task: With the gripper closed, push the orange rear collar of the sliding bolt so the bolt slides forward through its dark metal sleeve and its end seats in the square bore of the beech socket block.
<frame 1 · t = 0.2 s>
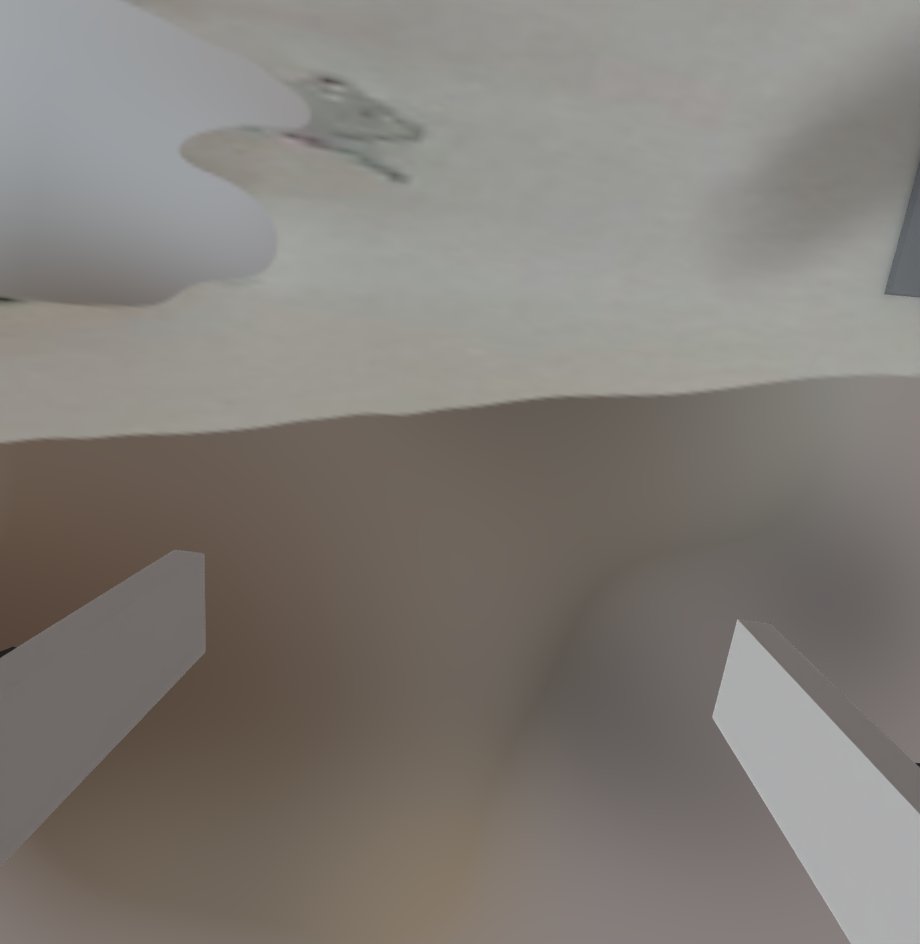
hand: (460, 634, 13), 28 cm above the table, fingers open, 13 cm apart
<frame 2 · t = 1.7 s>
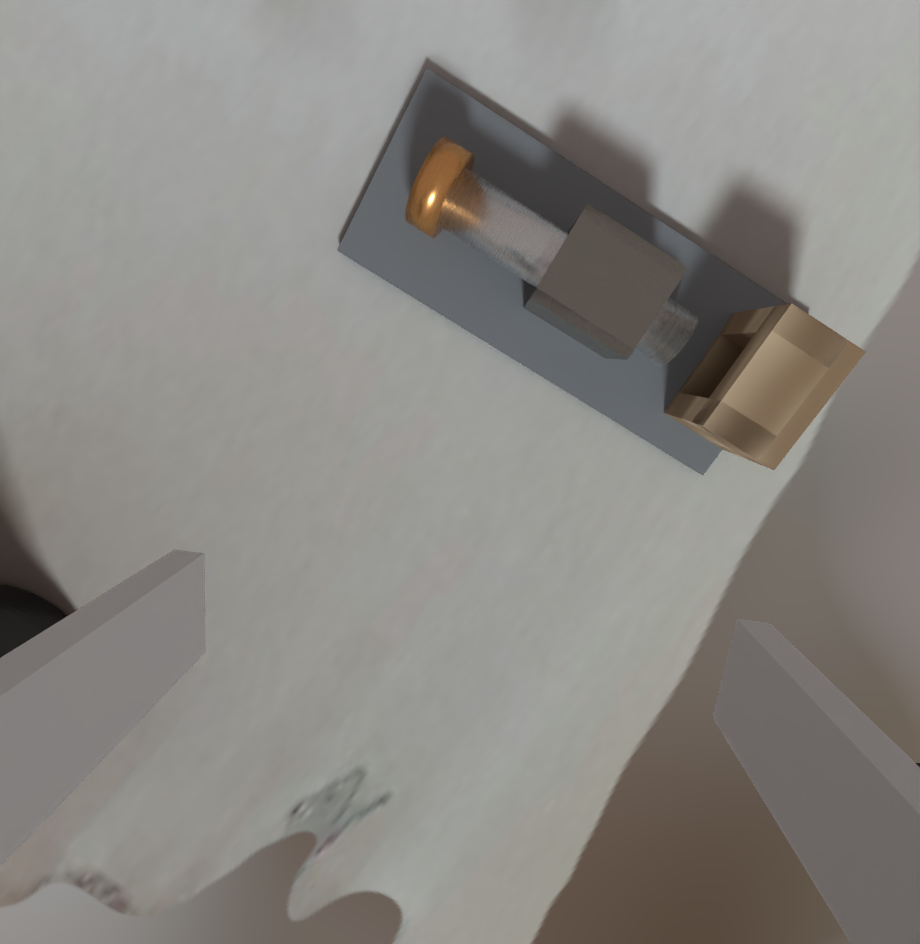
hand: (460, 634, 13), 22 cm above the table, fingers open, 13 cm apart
socket block: (723, 382, 32), resting on base mat
base mat: (573, 287, 31), on the table
sliding bolt: (554, 262, 28), point 3 cm above the table, slide at 0.0 cm
sleeve: (586, 296, 31), resting on base mat
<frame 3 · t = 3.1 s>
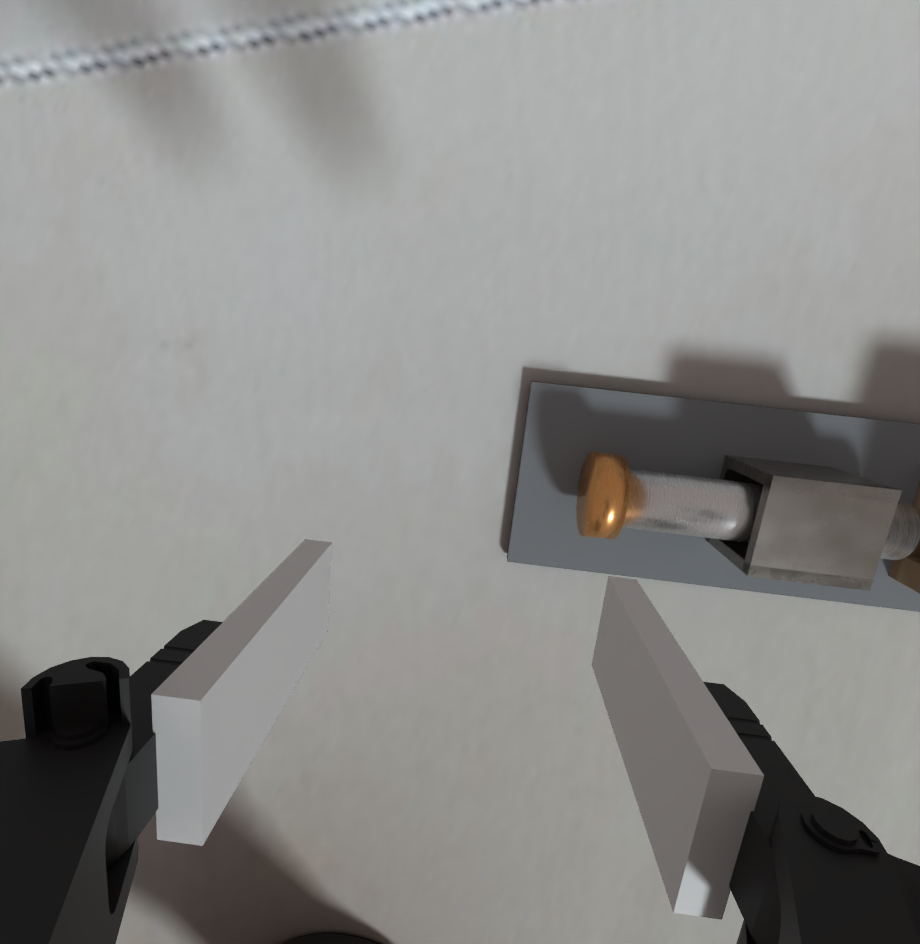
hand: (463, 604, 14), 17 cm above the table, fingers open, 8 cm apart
base mat: (744, 499, 30), on the table
sliding bolt: (738, 511, 27), point 3 cm above the table, slide at 0.0 cm
sleeve: (761, 501, 30), resting on base mat
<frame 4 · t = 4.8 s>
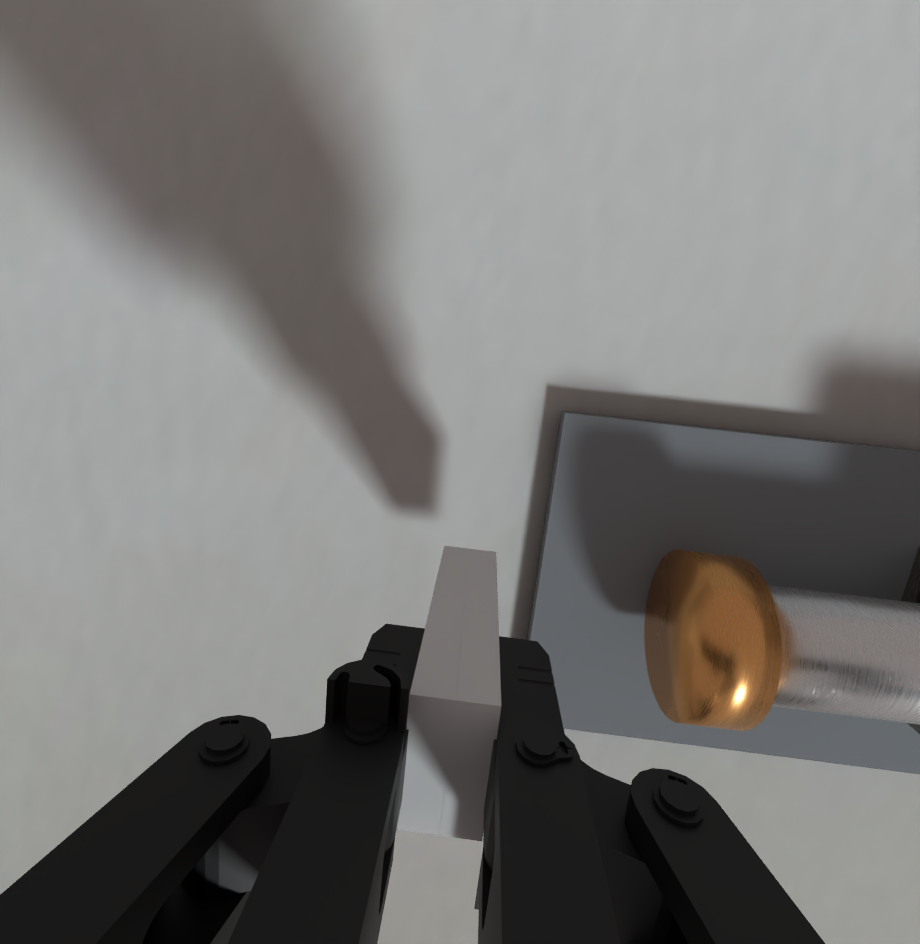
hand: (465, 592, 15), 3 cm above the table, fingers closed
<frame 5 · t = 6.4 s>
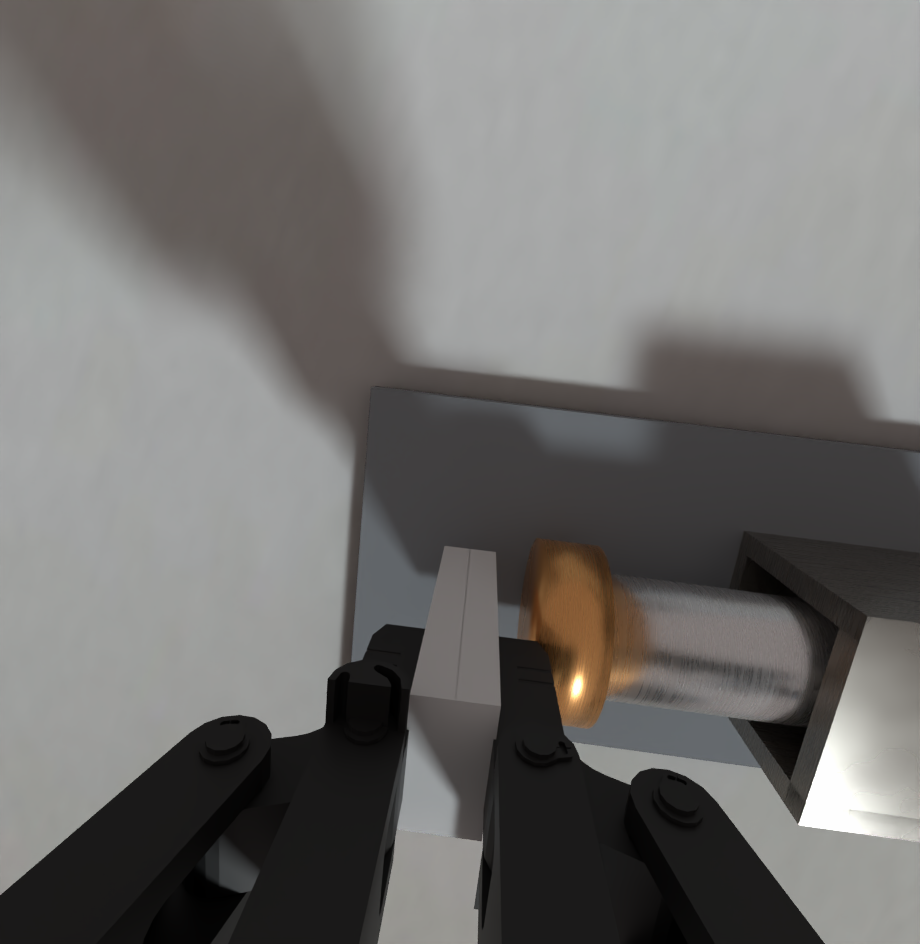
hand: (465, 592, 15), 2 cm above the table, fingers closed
base mat: (778, 608, 16), on the table
sliding bolt: (840, 665, 13), point 3 cm above the table, slide at 1.7 cm, touching gripper
sleeve: (809, 612, 16), resting on base mat
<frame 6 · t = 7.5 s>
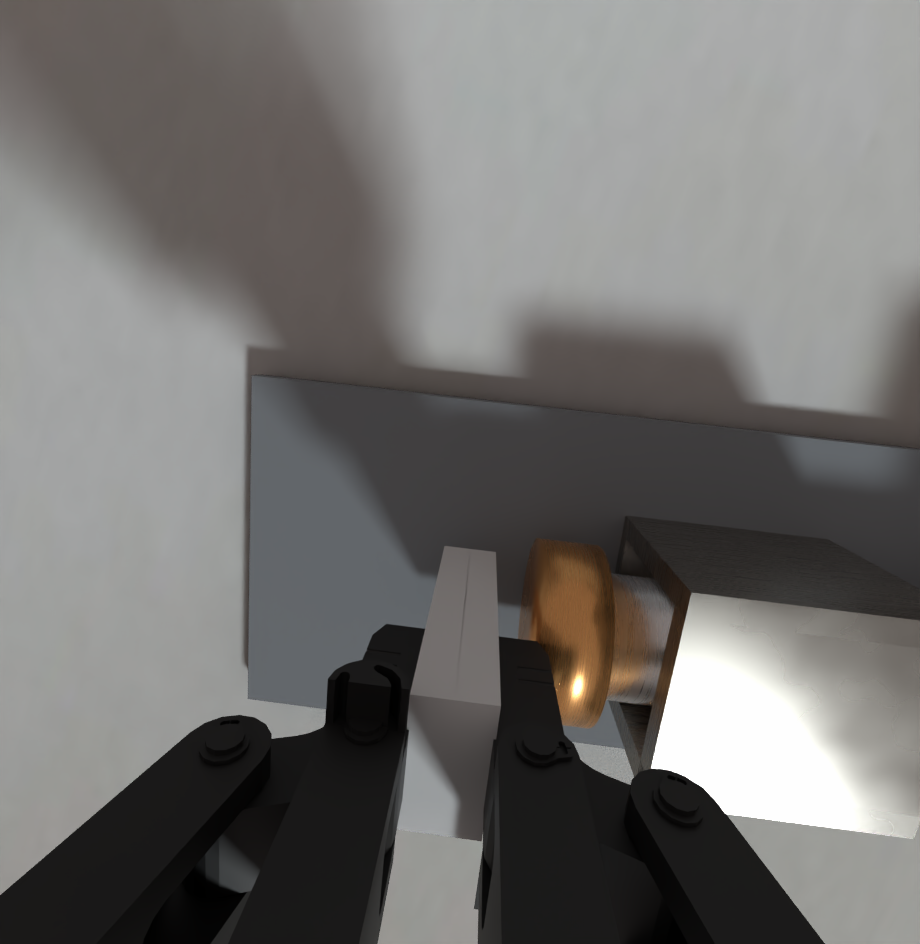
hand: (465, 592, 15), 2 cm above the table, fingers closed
base mat: (668, 593, 16), on the table
sliding bolt: (842, 663, 13), point 3 cm above the table, slide at 5.3 cm, touching gripper
sleeve: (699, 597, 16), resting on base mat
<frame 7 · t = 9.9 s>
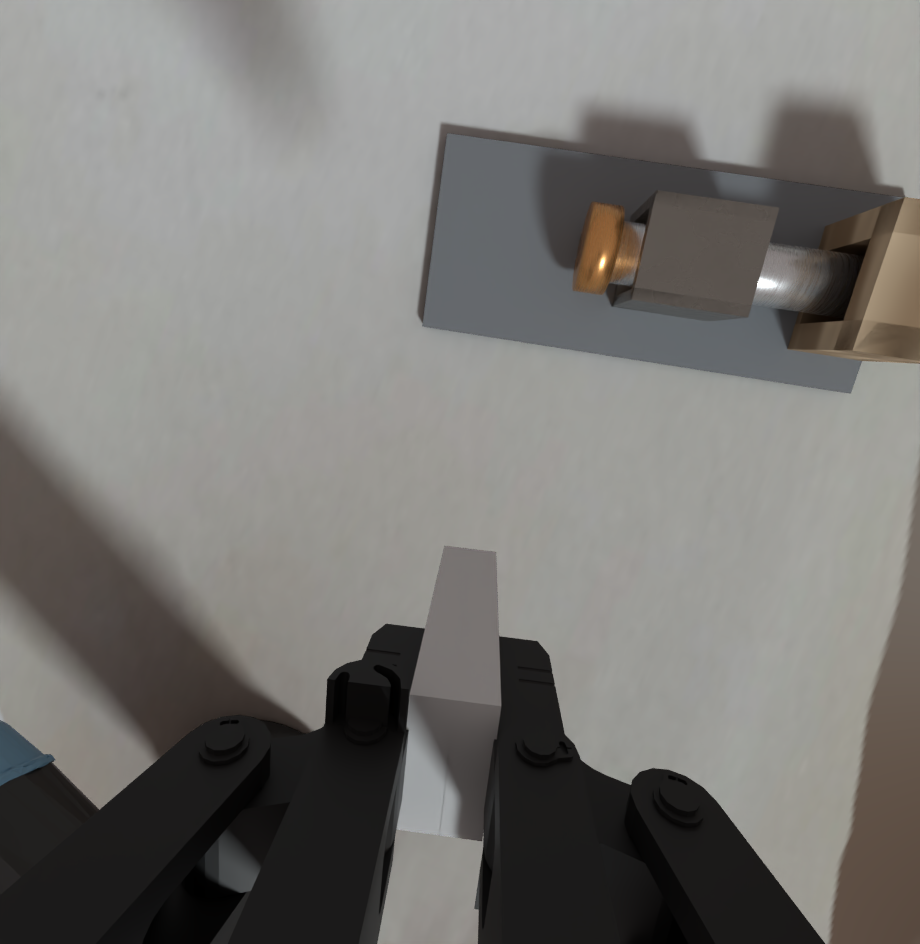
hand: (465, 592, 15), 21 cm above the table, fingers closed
socket block: (837, 296, 31), resting on base mat
base mat: (651, 268, 31), on the table
sliding bolt: (730, 269, 28), point 3 cm above the table, slide at 5.3 cm
sleeve: (667, 270, 31), resting on base mat
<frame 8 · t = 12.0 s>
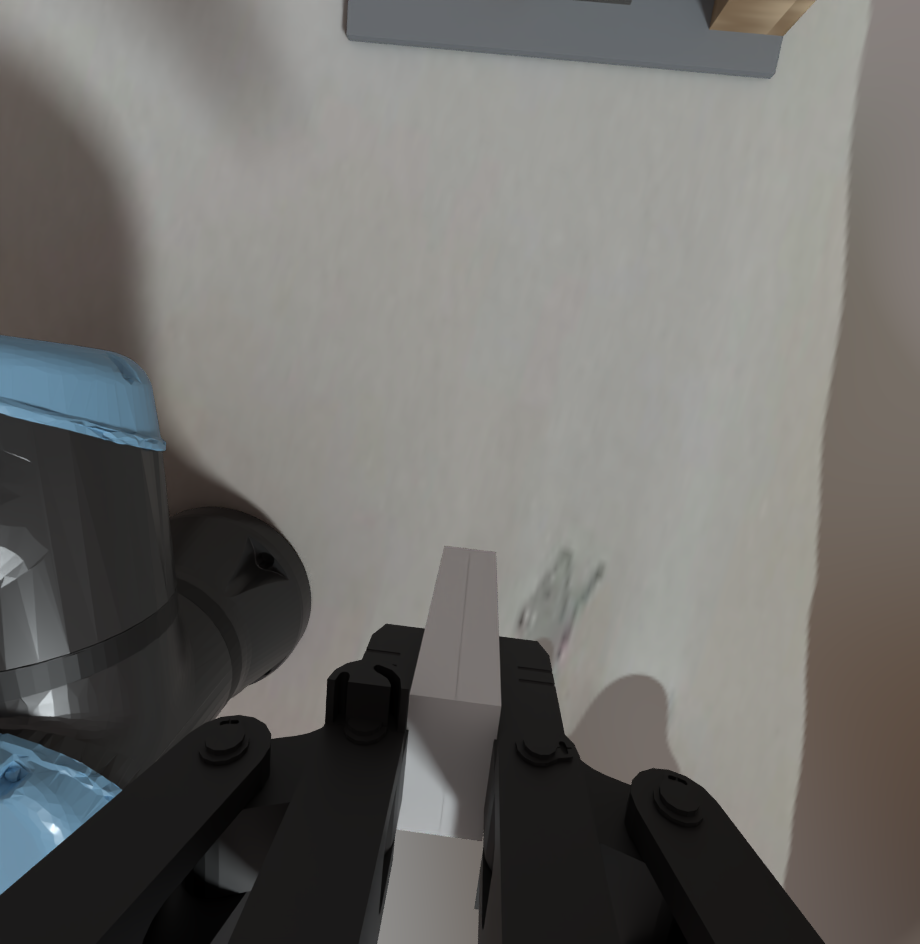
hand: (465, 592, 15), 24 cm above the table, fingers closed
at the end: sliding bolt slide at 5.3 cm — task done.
